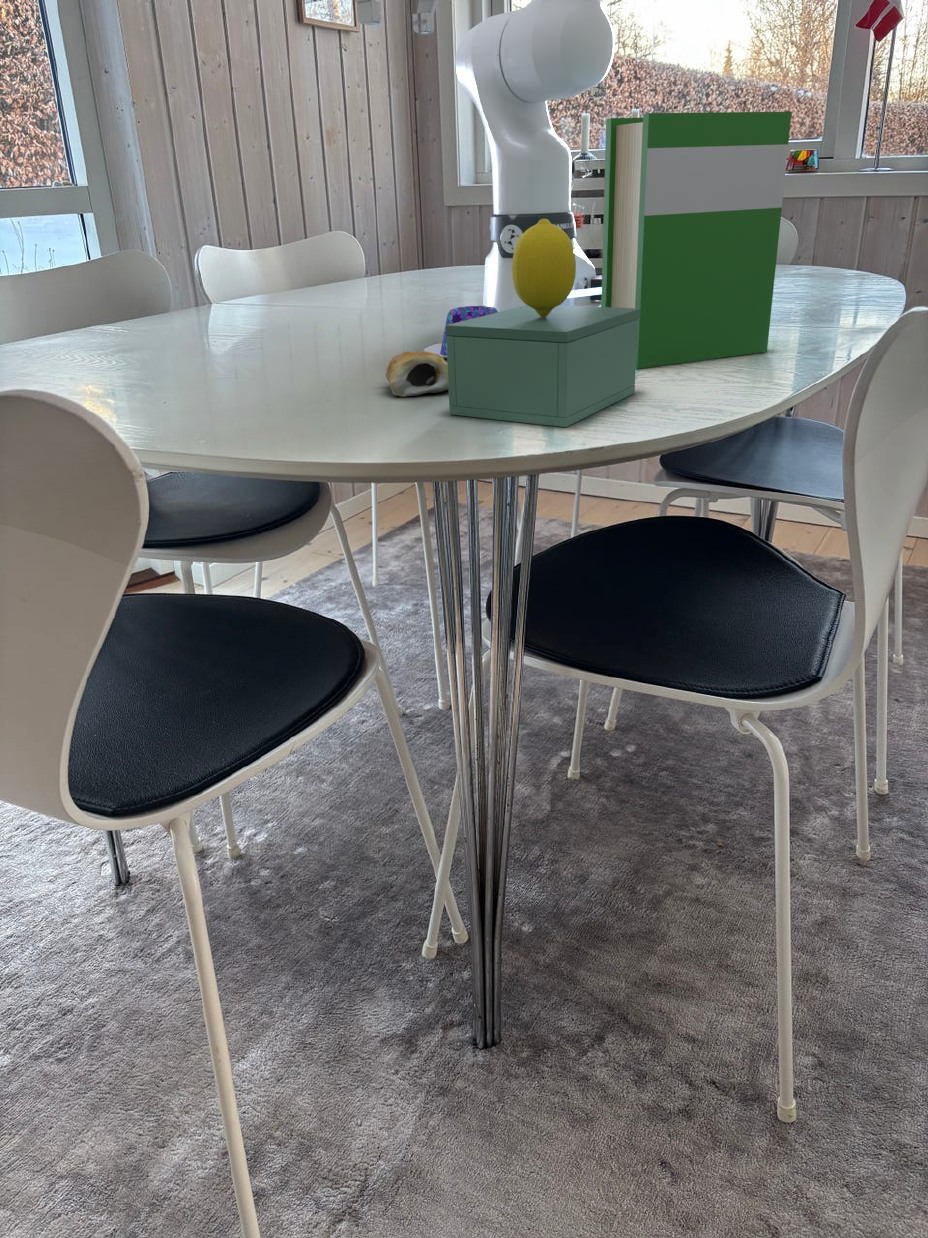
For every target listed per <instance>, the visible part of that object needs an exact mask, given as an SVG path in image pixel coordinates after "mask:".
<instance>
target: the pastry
mask: <svg viewBox="0 0 928 1238" xmlns="http://www.w3.org/2000/svg"><path fill="white" fill-rule="evenodd" d="M384 374H385V378H386V380H387V381H388V382H389V388H390V390H391V393H392V395H393V396H399V397H403V398H405V397H417V396H421V395H424V394H428V393H433V394H437V393H441V392H445V391H449V387H448V363H447V360H445V358H443V357H442V356H440V355H439V354H434V353H431V352H427V351H424V350H423V351H404V352H402V353H400V354H397V355H395V356H393V357H392V358H391V360H390V361H389V363H388V364H387V367H386V371H385V373H384Z"/></svg>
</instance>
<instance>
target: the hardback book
mask: <svg viewBox="0 0 928 1238" xmlns="http://www.w3.org/2000/svg"><path fill="white" fill-rule="evenodd" d="M791 121H792V111H727V112H726V111H723V112H721V111H720V112H719V111H717V112H716V111H715V112H711V111H710V112H647V113H643V114H642V117H608V118H606V119H605V145H604V146H605V147H604V149H605V150H604V151H605V152H604V186H603V187H604V188H603V194H604V195H603V222H602V223H603V225H602V257H601V259H602V265H601V276H602V296H601V307H615V308H640V309H641V311H640V318H638V328H637V351H636V370H640V369H647V368H654V367H655V368H656V367H662V366H669V365H676V364H677V365H678V364H685V363H691V362H701V361H707V360H713V359H715V360H716V359H720V358H721V359H722V358H731V357H736V356H744V355H752V354H758V353H759V354H760V353H767V352H768V347H769V346H768V345H769V337H770V328H771V317H772V307H773V298H774V287H775V278H776V277H775V276H776V270H777V269H776V268H777V259H778V249H779V240H780V239H779V238H780V229H781V221H782V220H781V219H782V209H783V201H784V190H785V180H786V170H787V163H788V152H789V151H788V150H789V141H790V130H791V123H792V122H791Z"/></svg>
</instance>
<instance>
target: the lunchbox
mask: <svg viewBox="0 0 928 1238" xmlns="http://www.w3.org/2000/svg"><path fill="white" fill-rule="evenodd" d="M637 328H638V319H635V320H632V321H629V322H626V323H623V324H621V325H618V326H615V327H612V328H609V329H606V330H603V331H600V332H597V333H594V334H591V335H588V336H585V337H582V338H579V339H576V340H573V341H570V342H567V343H565V342H548V341H532V340H515V339H498V338H482V337H465V336H446V339H447V359H446V362H447V363H448V387H449V390H448V406H449V407H448V408H449V415H451V416H461V417H469V418H478V419H487V420H495V421H505V422H514V423H523V424H531V425H541V426H549V427H559V428H568V427H569V426H572V425H573V424H575V423H577V422H580V421H582V420H583V419H585V418H587V417H589V416H592V415H594V414H595V413H597V412H600V411H601V410H603V409H605V408H607V407H610V406H612V405H614V404H616V403H618V402H619V401H621V400H624V399H626V398H628V397H630V396H631V395H633V394H635V393H636V372H637V369H636V351H637Z"/></svg>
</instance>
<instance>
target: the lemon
mask: <svg viewBox="0 0 928 1238" xmlns="http://www.w3.org/2000/svg"><path fill="white" fill-rule="evenodd" d="M575 275H576V260H575V253H574V249H573V245H572V243H571V240H570V238H569V237H568V235H567V234H566V233H565V232H564V231H563V230H562V229H560V228H559V227H557V226H555V225H553V224H551V223H550V222H549V220H548V219H541V220H539V222H538V223H537V224H536V225H534V226H532V227H530V228H529V229H528V230H526V231H525V232H524V233H523V234H522V236H521V237H520V238H519V240H518V242H517V244H516V247H515V250H514V255H513V261H512V279H513V284H514V288H515V290H516V293H517V295H518V296H519V298H520V299H521V300H522V301H523V302H524V303H525V304H526V305H527V306H529V307H531V308H533V309H535V311H536V312H537V313H538V314H539V315H540V316H542V317H545V316H548V314H549V313H550V312H551V311H552V310H553V309H554V308H555V307H557V306H559V305H560V304H562V303H563V302H564V301H565V300H566V299H567V297H568V296H569V294H570V293H571V291H572V288H573V285H574V282H575Z"/></svg>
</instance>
